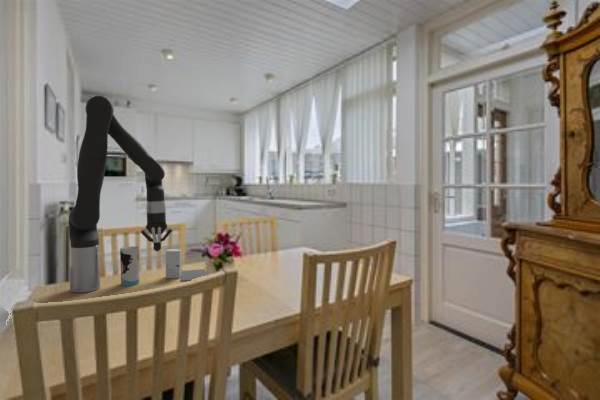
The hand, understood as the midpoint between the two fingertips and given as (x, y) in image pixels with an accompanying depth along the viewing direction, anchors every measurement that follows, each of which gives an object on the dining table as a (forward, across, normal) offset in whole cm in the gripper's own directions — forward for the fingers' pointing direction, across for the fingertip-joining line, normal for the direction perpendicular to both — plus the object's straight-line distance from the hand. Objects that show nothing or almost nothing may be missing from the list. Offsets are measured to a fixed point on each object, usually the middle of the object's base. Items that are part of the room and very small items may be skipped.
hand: (157, 250), depth 145 cm
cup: (+12, -10, -5) cm, 17 cm away
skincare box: (+12, +6, 0) cm, 14 cm away
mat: (+12, +16, 0) cm, 20 cm away
